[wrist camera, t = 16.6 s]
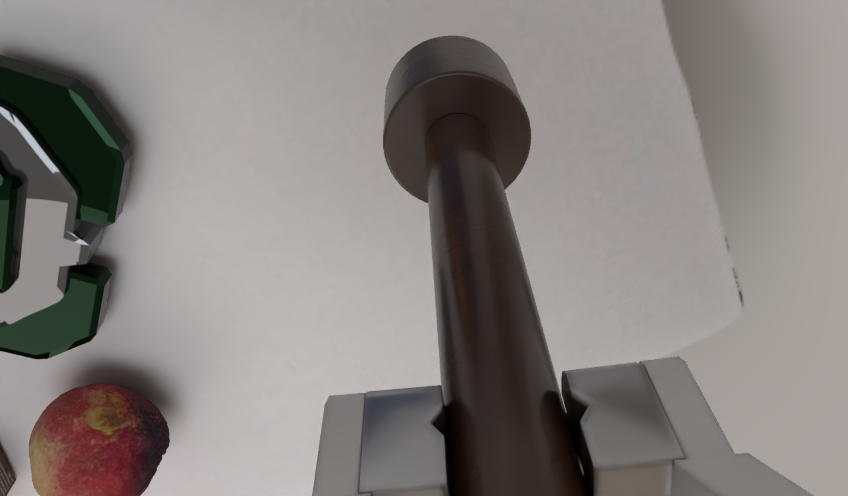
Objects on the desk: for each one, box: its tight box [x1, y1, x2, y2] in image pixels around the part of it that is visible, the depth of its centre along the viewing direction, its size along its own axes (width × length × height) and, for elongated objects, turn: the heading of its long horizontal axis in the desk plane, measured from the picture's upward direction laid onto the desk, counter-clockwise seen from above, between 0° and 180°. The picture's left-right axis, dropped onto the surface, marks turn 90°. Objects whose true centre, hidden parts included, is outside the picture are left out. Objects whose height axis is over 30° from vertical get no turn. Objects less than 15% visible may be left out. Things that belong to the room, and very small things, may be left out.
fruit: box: [29, 384, 170, 496], centre depth 43 cm, size 8×8×8 cm
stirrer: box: [383, 36, 588, 496], centre depth 13 cm, size 4×4×15 cm
